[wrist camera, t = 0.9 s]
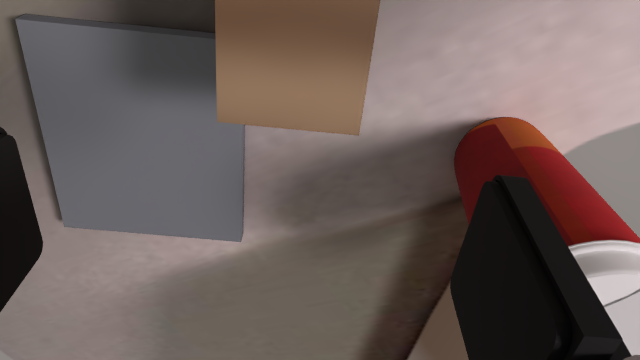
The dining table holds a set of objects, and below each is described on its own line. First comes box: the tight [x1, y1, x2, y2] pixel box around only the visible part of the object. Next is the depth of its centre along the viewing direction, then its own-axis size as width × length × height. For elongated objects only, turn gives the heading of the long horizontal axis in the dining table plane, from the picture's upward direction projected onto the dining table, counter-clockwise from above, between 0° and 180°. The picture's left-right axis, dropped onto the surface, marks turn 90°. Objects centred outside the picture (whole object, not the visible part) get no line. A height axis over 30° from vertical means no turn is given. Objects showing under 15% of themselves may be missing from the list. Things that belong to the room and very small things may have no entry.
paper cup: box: [454, 117, 640, 356], centre depth 26 cm, size 8×8×14 cm
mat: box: [15, 14, 245, 242], centre depth 31 cm, size 14×12×1 cm
